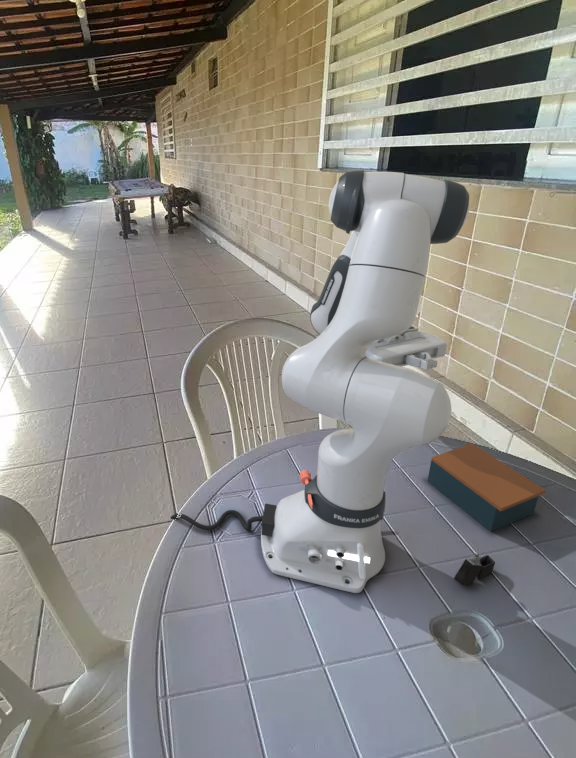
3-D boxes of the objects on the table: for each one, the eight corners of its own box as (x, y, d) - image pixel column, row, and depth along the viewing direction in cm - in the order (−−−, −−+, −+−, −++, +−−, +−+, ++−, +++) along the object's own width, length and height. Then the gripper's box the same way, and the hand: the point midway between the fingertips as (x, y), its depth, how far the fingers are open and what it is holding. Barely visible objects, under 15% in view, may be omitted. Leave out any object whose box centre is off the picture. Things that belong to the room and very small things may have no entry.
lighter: (471, 576, 75) (486, 552, 74) (483, 586, 73) (498, 561, 72) (449, 575, 71) (465, 549, 70) (461, 585, 69) (477, 558, 68)
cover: (545, 493, 81) (546, 490, 80) (500, 511, 77) (501, 508, 77) (471, 446, 94) (472, 443, 94) (431, 459, 91) (431, 456, 91)
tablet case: (533, 513, 84) (540, 490, 81) (490, 531, 80) (496, 508, 78) (466, 467, 97) (471, 446, 94) (427, 481, 93) (431, 460, 91)
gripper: (352, 338, 101) (395, 362, 89) (419, 324, 107) (468, 344, 95) (350, 362, 103) (392, 388, 91) (415, 346, 109) (464, 369, 97)
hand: (432, 365), depth 93 cm, fingers closed
